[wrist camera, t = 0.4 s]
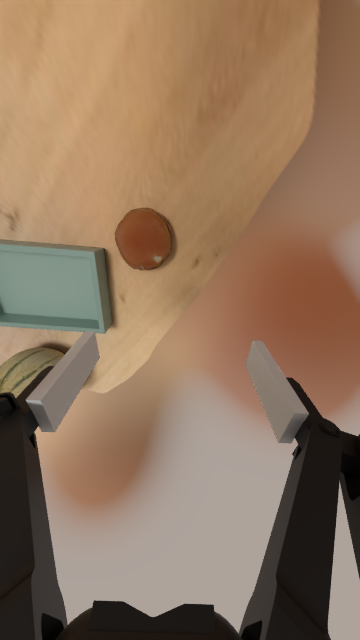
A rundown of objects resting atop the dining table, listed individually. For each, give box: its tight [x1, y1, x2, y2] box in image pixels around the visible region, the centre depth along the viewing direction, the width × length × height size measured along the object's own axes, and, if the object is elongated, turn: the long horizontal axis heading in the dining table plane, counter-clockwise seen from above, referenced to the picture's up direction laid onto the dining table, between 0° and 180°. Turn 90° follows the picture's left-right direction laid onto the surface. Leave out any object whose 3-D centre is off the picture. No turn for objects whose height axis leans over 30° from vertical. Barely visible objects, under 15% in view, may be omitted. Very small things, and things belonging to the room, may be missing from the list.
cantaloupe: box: [0, 348, 64, 398], centre depth 41 cm, size 15×15×15 cm
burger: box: [115, 208, 172, 270], centre depth 32 cm, size 10×9×5 cm
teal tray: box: [0, 239, 112, 334], centre depth 36 cm, size 16×24×4 cm, turn 86°
